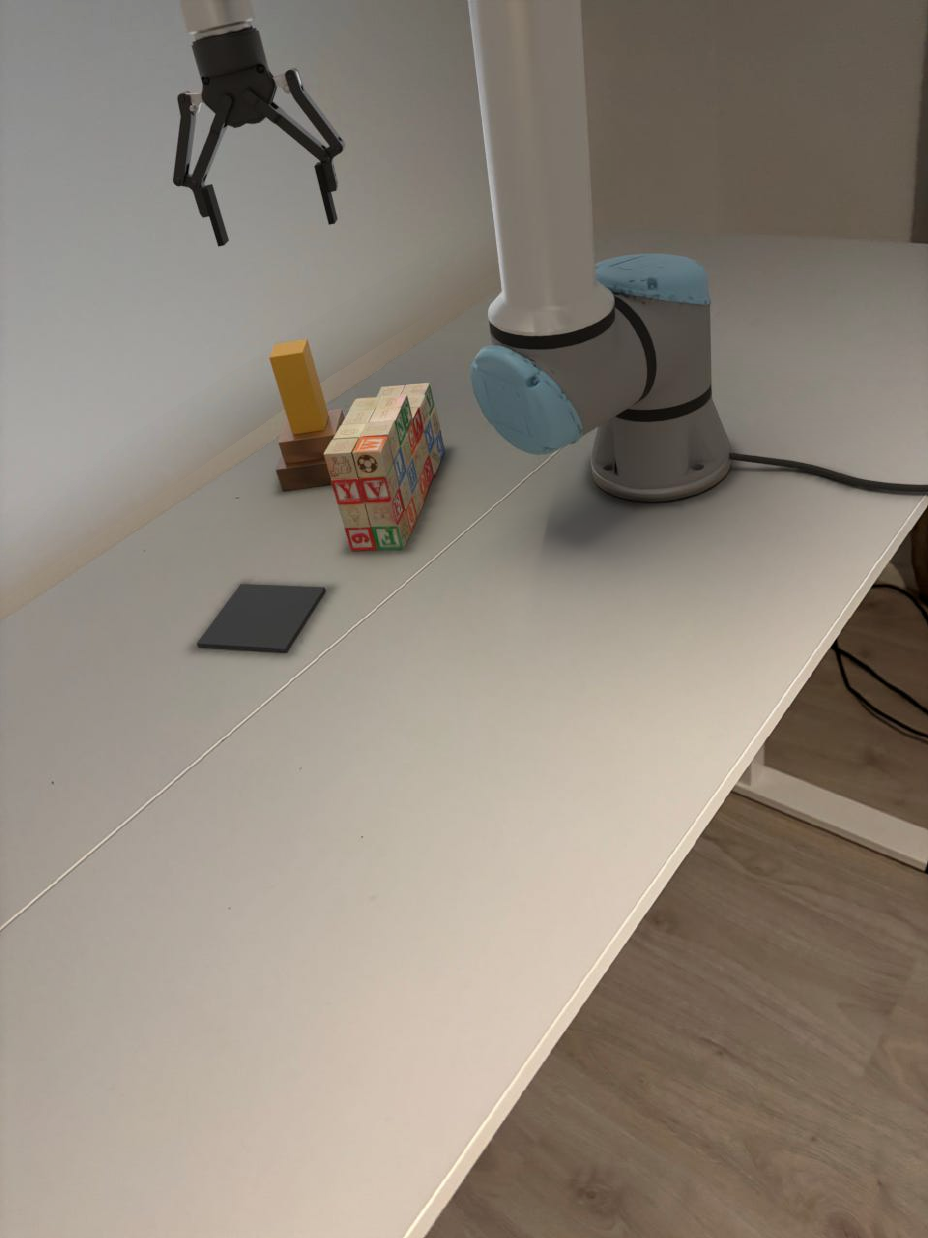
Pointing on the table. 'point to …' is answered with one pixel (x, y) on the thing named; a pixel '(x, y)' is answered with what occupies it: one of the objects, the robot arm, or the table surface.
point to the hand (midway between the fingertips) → (278, 233)
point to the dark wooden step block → (306, 455)
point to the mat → (262, 618)
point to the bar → (299, 386)
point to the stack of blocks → (385, 464)
